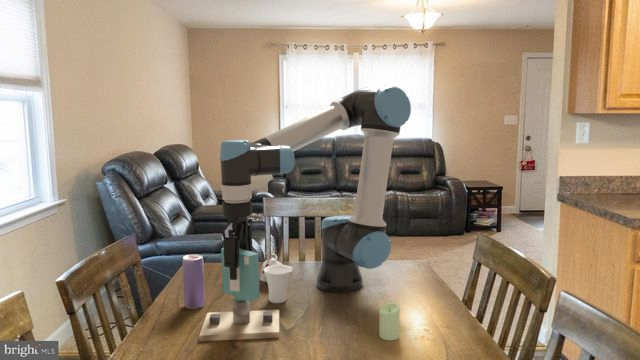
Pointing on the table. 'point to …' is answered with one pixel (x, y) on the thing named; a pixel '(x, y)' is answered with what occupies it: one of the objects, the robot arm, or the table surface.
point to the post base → (240, 330)
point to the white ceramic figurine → (268, 263)
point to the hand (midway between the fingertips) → (240, 286)
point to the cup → (278, 282)
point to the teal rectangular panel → (243, 276)
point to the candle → (389, 321)
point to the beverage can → (193, 281)
